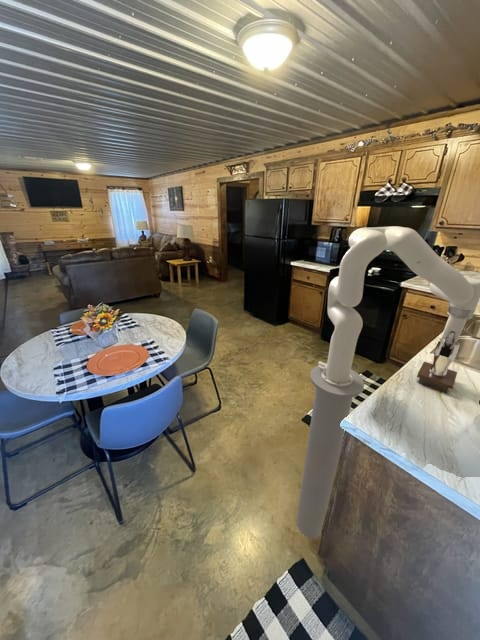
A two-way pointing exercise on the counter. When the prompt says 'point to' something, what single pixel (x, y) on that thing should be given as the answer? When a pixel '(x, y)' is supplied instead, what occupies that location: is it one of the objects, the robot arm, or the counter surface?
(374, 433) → the counter surface
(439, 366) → the beer glass
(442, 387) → the lidded box
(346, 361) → the robot arm
